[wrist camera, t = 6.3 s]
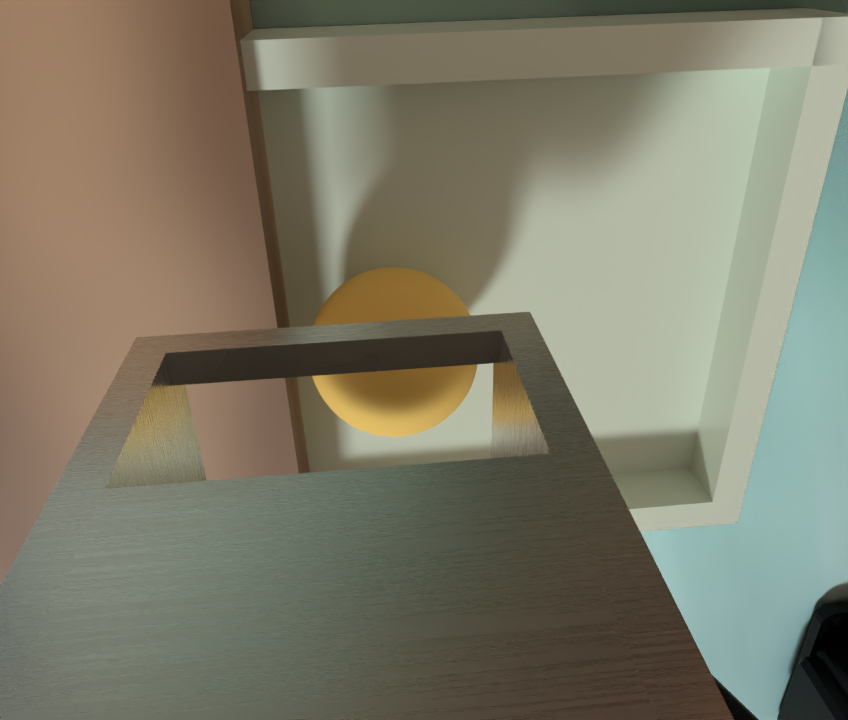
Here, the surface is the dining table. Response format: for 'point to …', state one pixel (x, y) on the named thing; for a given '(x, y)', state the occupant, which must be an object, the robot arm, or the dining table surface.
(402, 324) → the gray slotted box
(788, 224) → the tray
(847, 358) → the dining table surface
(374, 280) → the ball
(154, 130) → the brown flat board
